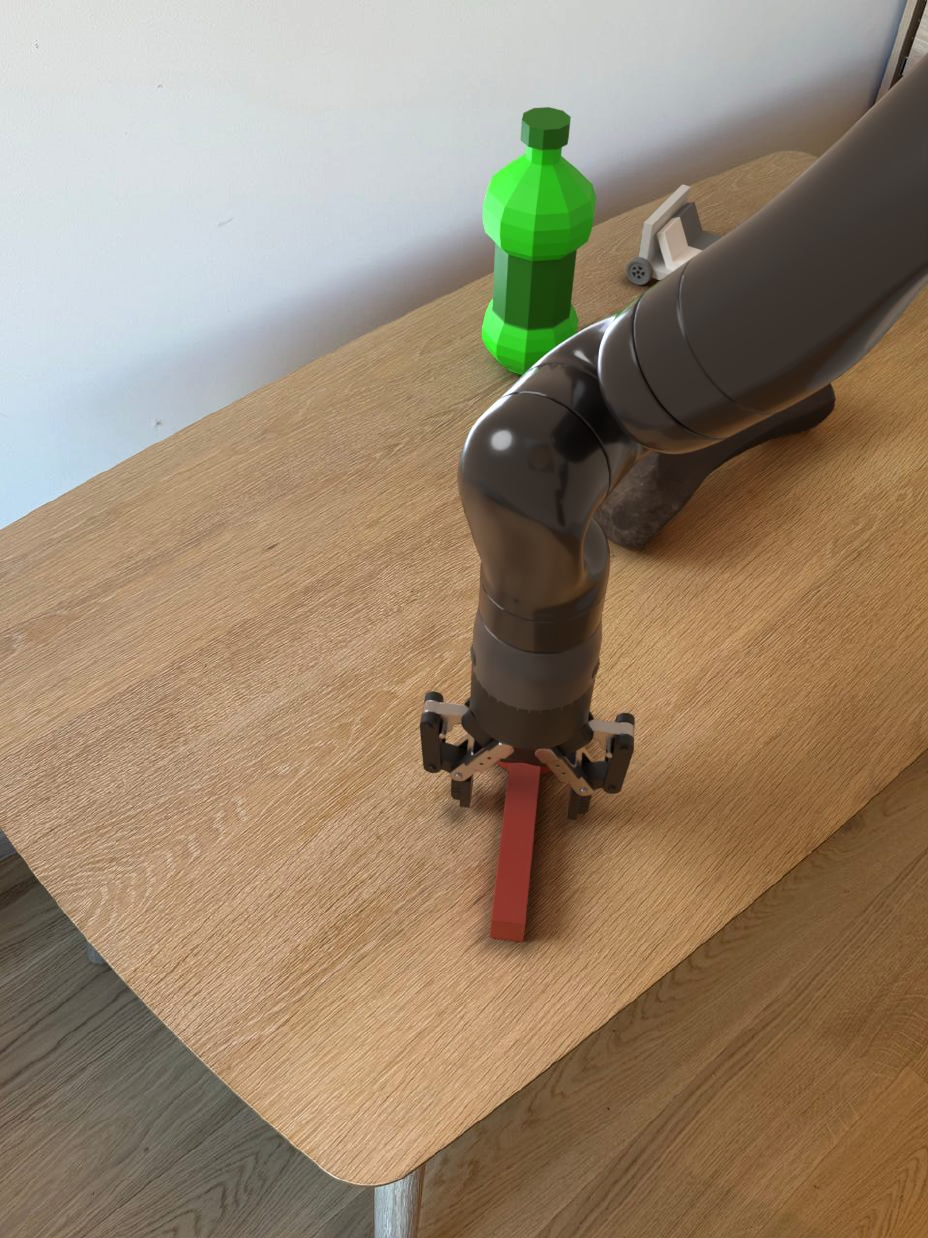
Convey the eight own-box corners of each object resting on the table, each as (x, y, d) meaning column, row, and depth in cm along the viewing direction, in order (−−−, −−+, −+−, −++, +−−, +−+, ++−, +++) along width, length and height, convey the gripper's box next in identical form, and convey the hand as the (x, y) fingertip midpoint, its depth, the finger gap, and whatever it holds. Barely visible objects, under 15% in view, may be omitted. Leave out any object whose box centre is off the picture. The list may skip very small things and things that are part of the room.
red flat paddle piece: (554, 946, 72) (558, 928, 70) (457, 933, 72) (458, 916, 70) (572, 710, 84) (576, 689, 82) (489, 700, 85) (491, 680, 83)
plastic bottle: (597, 359, 113) (630, 118, 95) (529, 404, 108) (549, 159, 90) (526, 319, 118) (543, 80, 99) (457, 360, 113) (461, 117, 94)
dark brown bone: (603, 575, 96) (792, 468, 111) (671, 525, 87) (866, 417, 102) (537, 471, 97) (733, 379, 112) (598, 412, 88) (802, 320, 103)
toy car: (836, 199, 116) (798, 248, 110) (813, 282, 124) (775, 332, 117) (681, 154, 122) (635, 197, 116) (667, 235, 130) (623, 280, 123)
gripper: (656, 622, 67) (621, 770, 80) (425, 597, 68) (426, 747, 81) (655, 721, 63) (618, 862, 75) (405, 693, 63) (410, 837, 76)
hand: (518, 802), depth 78 cm, fingers open, 7 cm apart
